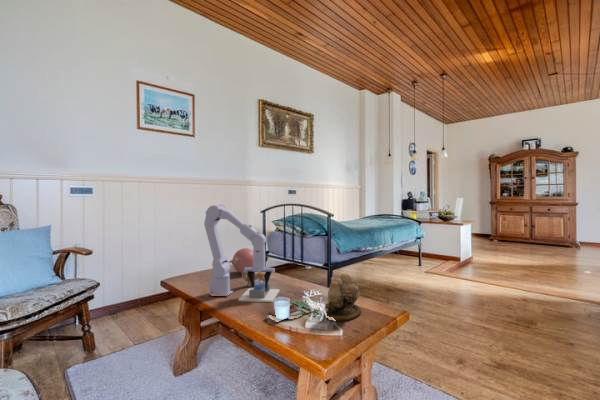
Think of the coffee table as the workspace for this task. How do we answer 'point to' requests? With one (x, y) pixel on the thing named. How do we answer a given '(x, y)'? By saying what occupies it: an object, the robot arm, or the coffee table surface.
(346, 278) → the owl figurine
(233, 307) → the coffee table surface
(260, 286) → the block
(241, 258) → the balloon
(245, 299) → the pocket plate
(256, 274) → the lion figurine
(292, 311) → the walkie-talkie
